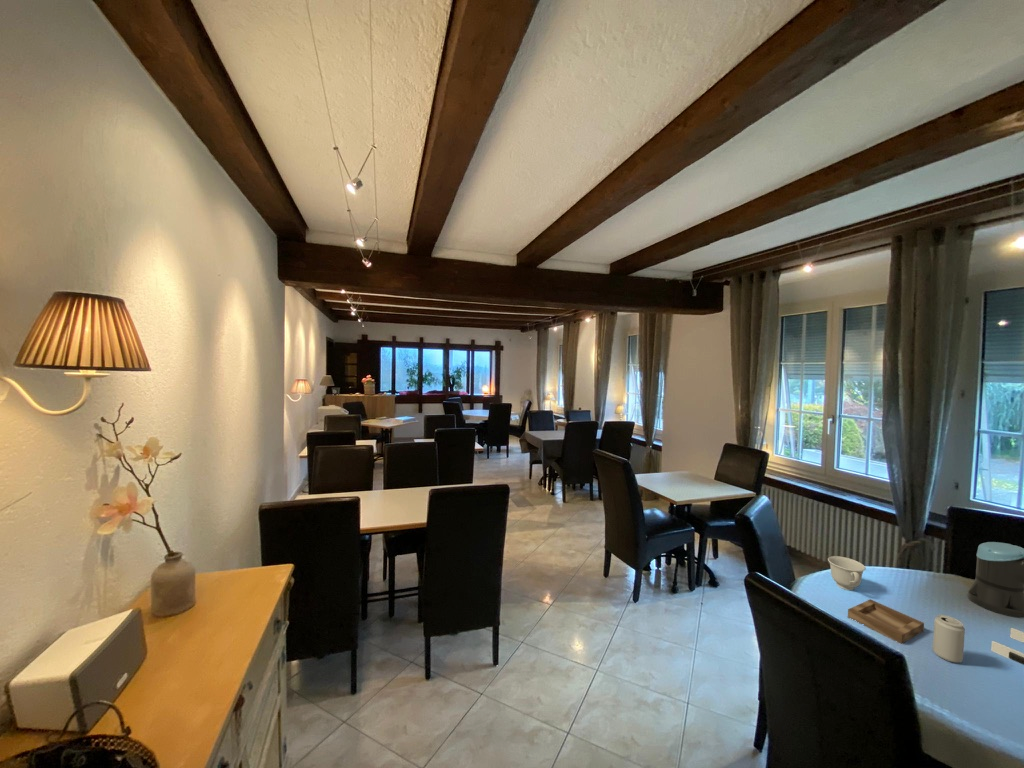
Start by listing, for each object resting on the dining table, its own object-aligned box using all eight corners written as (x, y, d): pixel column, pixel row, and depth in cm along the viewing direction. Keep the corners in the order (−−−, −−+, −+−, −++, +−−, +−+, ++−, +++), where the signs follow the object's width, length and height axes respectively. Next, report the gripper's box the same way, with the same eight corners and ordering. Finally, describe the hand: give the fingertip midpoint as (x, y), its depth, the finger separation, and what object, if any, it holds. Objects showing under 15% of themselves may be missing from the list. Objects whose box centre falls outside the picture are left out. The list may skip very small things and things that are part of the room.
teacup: (838, 596, 157) (839, 571, 157) (821, 576, 172) (822, 554, 171) (875, 601, 154) (876, 576, 153) (855, 581, 168) (856, 558, 167)
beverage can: (930, 646, 130) (932, 611, 129) (960, 655, 125) (962, 619, 125) (934, 657, 125) (936, 621, 124) (965, 667, 121) (967, 629, 120)
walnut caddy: (869, 606, 150) (870, 599, 150) (923, 631, 137) (924, 622, 137) (847, 617, 144) (848, 609, 144) (901, 644, 131) (901, 635, 130)
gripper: (1122, 729, 90) (982, 664, 109) (1150, 692, 100) (1017, 639, 119) (1125, 697, 89) (984, 638, 109) (1152, 664, 100) (1019, 615, 119)
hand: (1001, 638), depth 114 cm, fingers open, 13 cm apart
